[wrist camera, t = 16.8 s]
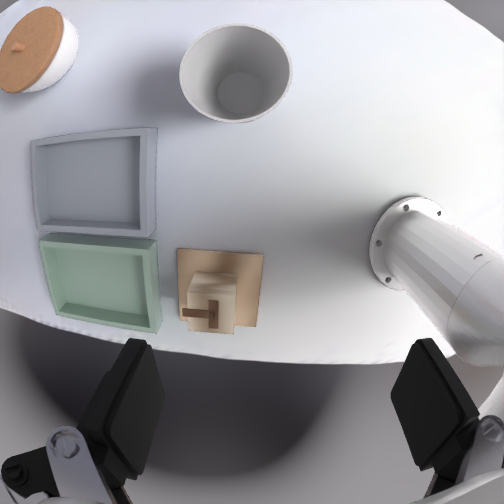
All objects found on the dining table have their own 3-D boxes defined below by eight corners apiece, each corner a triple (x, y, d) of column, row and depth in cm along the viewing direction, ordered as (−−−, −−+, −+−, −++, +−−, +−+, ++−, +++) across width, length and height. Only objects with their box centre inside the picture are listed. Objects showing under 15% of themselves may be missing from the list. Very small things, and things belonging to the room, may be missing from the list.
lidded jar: (96, 74, 24) (50, 61, 16) (34, 108, 25) (-14, 109, 16) (91, 9, 20) (53, -15, 12) (32, 46, 21) (-11, 36, 12)
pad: (263, 254, 33) (263, 256, 33) (255, 324, 37) (255, 326, 36) (178, 248, 33) (177, 250, 32) (181, 317, 37) (180, 320, 36)
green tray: (156, 240, 32) (148, 249, 30) (162, 320, 37) (156, 333, 34) (50, 233, 32) (38, 240, 29) (65, 304, 36) (56, 314, 33)
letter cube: (237, 274, 33) (235, 296, 29) (235, 309, 35) (233, 335, 31) (190, 270, 33) (181, 292, 28) (191, 306, 35) (183, 330, 30)
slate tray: (157, 128, 28) (148, 127, 25) (156, 228, 32) (147, 237, 29) (45, 139, 27) (31, 140, 24) (49, 223, 31) (37, 230, 29)
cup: (220, 140, 28) (205, 140, 19) (190, 77, 25) (163, 51, 16) (291, 111, 27) (310, 98, 18) (260, 47, 24) (264, 10, 15)
